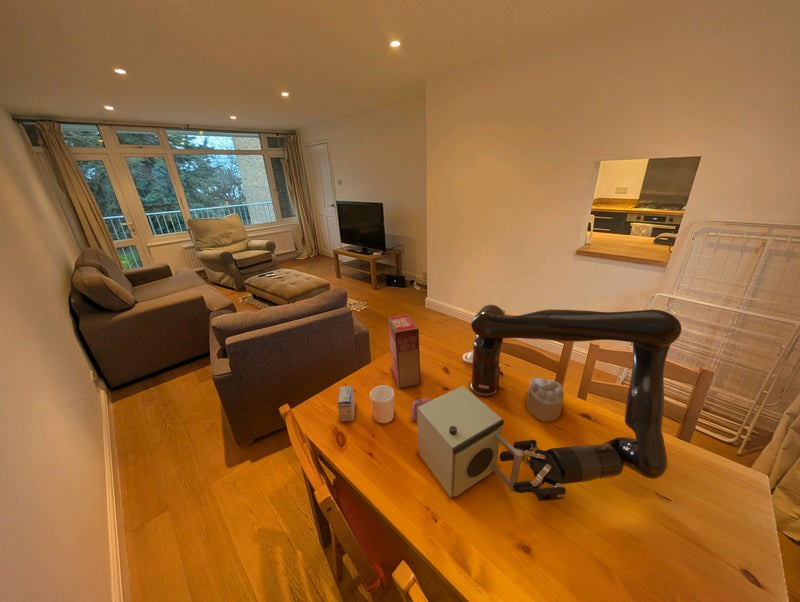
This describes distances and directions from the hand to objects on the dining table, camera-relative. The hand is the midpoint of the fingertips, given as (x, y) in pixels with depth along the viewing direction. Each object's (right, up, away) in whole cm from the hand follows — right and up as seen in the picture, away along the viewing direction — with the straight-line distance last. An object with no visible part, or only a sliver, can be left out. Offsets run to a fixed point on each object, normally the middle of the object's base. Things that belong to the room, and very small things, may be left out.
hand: (506, 471), depth 69 cm
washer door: (-4, -8, +4) cm, 10 cm away
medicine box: (-43, +1, +33) cm, 54 cm away
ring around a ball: (+6, +14, +57) cm, 59 cm away
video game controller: (-16, +1, +30) cm, 34 cm away
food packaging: (-23, +10, +50) cm, 55 cm away
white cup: (-31, +1, +31) cm, 44 cm away
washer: (-9, -5, +14) cm, 18 cm away
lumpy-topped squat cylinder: (+24, +4, +31) cm, 39 cm away
